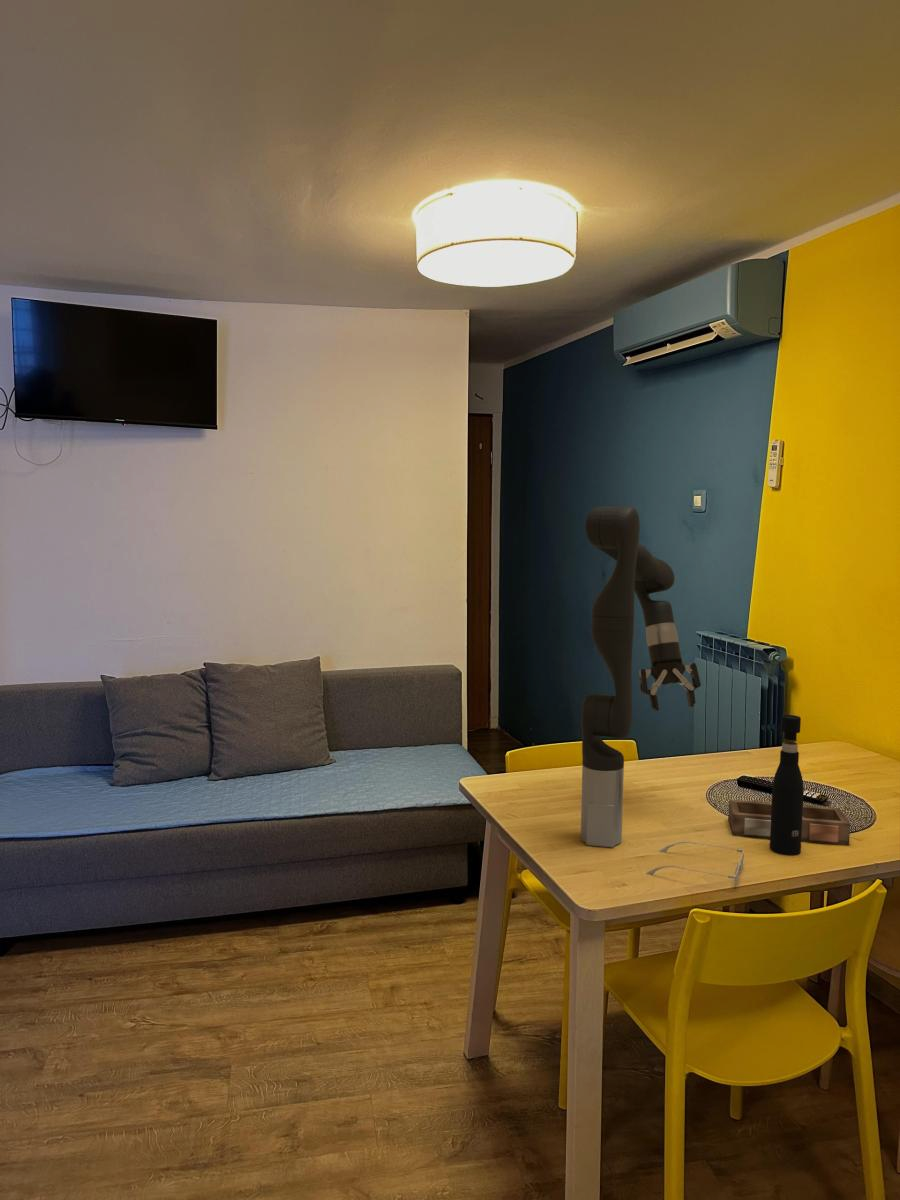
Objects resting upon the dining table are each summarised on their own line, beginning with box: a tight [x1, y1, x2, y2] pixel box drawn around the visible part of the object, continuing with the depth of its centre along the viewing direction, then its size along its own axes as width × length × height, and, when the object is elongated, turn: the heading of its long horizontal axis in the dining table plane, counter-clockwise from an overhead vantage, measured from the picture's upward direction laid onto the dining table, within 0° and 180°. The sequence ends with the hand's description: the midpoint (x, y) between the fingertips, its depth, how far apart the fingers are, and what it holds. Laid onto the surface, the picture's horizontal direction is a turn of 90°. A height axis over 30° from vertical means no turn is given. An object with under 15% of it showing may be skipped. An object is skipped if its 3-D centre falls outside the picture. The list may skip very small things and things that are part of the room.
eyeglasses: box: [645, 841, 745, 889], centre depth 179 cm, size 15×18×4 cm
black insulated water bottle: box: [769, 714, 805, 856], centre depth 188 cm, size 6×6×30 cm
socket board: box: [727, 799, 851, 846], centre depth 200 cm, size 25×12×5 cm, turn 77°
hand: (674, 708), depth 209 cm, fingers open, 8 cm apart
